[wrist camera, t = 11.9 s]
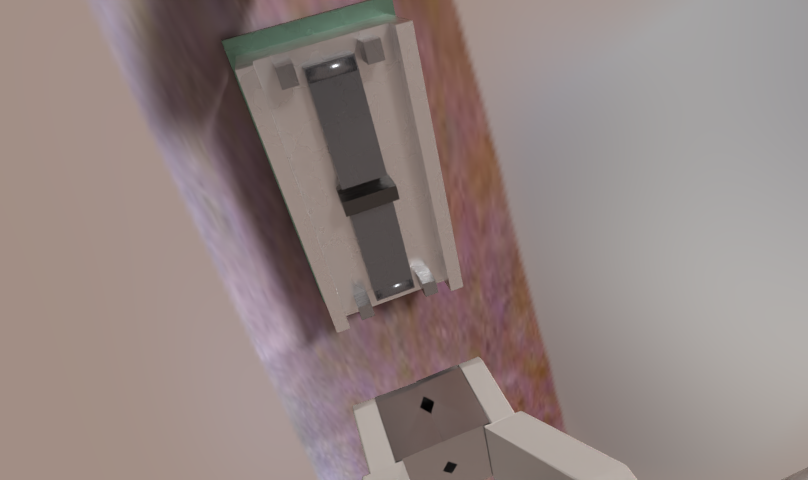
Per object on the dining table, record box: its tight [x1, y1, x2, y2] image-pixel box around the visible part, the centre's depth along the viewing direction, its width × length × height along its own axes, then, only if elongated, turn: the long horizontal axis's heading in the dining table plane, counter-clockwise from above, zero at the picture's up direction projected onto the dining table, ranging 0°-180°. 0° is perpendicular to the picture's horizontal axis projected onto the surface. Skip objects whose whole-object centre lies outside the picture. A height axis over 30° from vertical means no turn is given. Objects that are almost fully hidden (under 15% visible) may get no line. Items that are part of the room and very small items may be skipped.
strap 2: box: [350, 202, 415, 301], centre depth 34 cm, size 8×3×1 cm, turn 12°
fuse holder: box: [222, 0, 463, 333], centre depth 34 cm, size 21×11×7 cm, turn 12°
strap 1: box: [302, 53, 387, 190], centre depth 29 cm, size 8×3×1 cm, turn 13°
